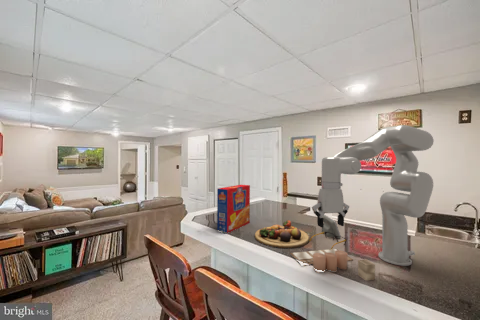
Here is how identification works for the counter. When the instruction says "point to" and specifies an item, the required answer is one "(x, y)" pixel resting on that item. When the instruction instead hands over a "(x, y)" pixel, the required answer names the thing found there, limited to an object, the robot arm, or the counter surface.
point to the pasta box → (233, 207)
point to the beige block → (366, 269)
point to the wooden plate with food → (282, 236)
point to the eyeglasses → (333, 239)
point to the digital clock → (330, 227)
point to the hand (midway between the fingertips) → (330, 225)
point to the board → (308, 255)
